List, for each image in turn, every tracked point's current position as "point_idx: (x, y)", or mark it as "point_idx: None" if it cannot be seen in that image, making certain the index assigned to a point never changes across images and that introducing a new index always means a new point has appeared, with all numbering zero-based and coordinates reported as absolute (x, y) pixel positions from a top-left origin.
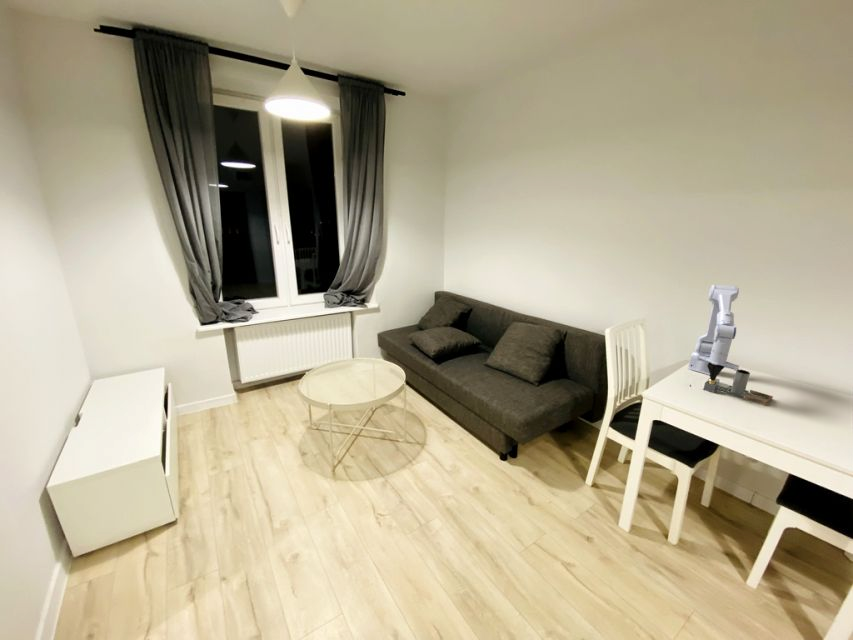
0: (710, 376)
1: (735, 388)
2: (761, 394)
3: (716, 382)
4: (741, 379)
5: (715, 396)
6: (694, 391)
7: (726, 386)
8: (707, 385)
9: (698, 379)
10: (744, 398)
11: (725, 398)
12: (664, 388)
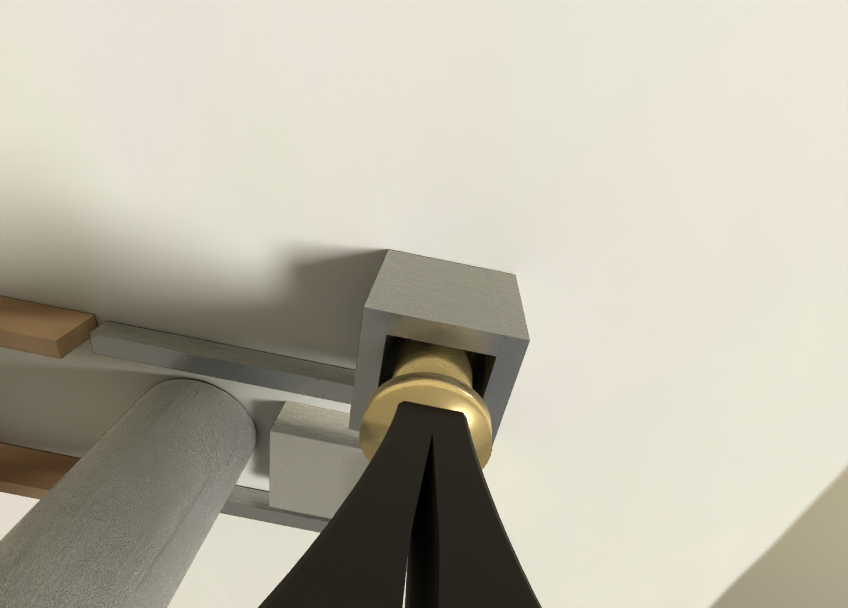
0: (473, 468)
1: (170, 434)
2: (15, 472)
3: None
4: None
5: (347, 138)
6: (644, 109)
7: (289, 468)
8: (481, 311)
9: (564, 522)
10: (89, 316)
11: (231, 166)
12: None
